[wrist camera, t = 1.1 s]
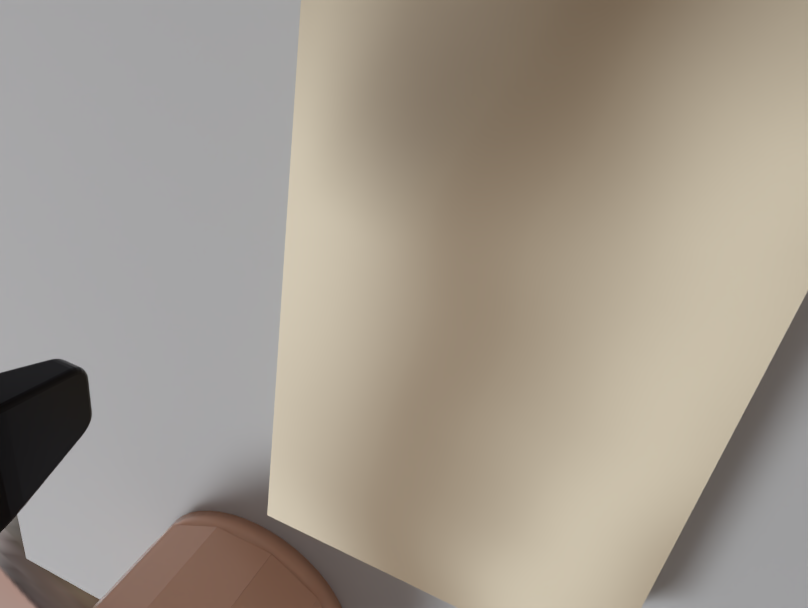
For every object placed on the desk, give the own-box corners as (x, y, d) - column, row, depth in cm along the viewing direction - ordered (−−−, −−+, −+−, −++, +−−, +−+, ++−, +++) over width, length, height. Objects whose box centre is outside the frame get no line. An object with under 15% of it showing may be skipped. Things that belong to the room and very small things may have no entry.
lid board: (925, 0, 9) (946, 28, 8) (622, 604, 16) (603, 678, 15) (371, -121, 11) (308, -115, 10) (310, 462, 18) (267, 515, 17)
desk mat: (1390, 42, 8) (1413, 50, 8) (663, 897, 21) (661, 913, 21) (-122, -263, 14) (-143, -265, 14) (35, 549, 27) (26, 558, 27)
